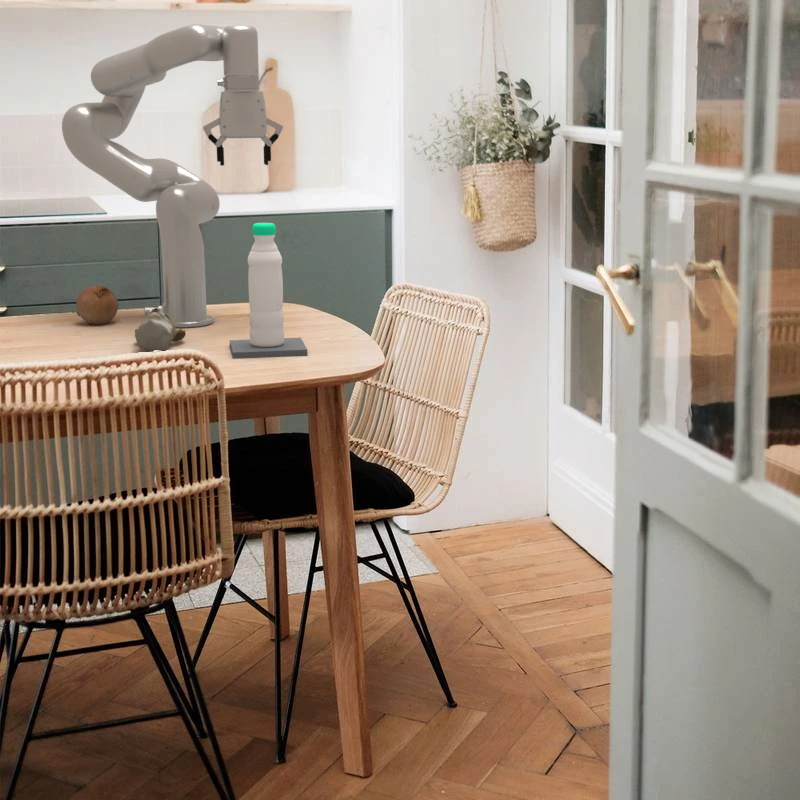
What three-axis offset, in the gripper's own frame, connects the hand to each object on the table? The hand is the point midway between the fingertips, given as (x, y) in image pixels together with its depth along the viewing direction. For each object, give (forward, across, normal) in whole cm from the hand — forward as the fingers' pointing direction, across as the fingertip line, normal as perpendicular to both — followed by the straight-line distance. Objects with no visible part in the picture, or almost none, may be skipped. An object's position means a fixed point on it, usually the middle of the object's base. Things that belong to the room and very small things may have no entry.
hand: (244, 164), depth 283 cm
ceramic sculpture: (+37, -20, -19) cm, 46 cm away
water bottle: (+35, +2, -27) cm, 44 cm away
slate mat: (+36, +2, -27) cm, 45 cm away
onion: (+37, -34, +12) cm, 51 cm away
